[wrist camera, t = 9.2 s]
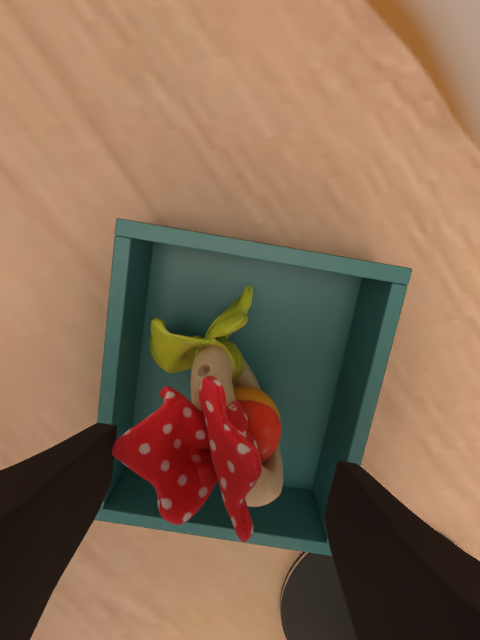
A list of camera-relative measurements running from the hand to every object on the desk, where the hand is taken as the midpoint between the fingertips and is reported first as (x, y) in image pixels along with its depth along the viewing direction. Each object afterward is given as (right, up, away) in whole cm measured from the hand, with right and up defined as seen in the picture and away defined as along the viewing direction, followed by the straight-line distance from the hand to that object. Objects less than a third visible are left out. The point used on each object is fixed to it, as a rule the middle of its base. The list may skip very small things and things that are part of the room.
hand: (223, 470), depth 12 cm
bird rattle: (0, +2, +9) cm, 9 cm away
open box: (0, +2, +10) cm, 10 cm away
